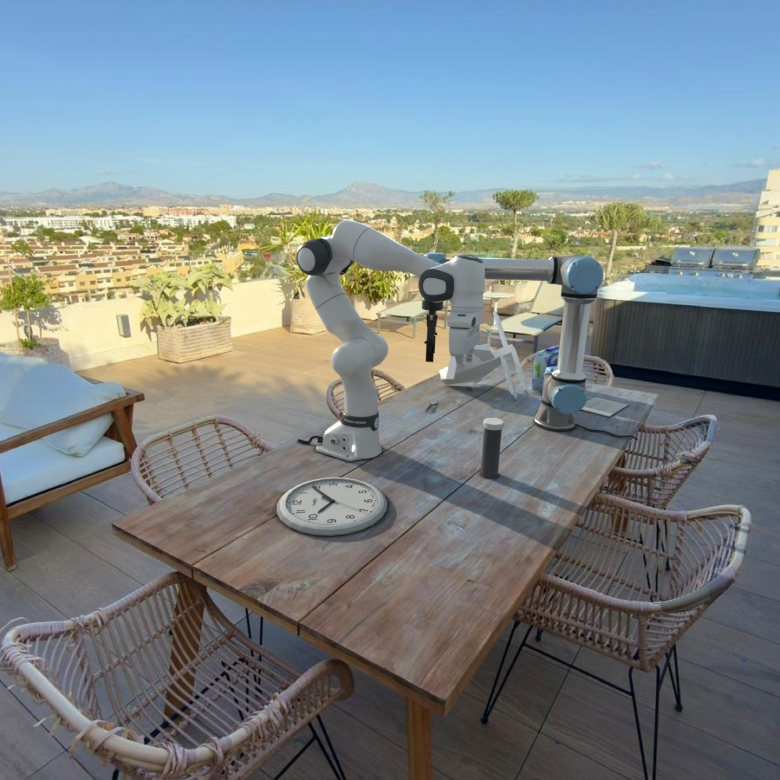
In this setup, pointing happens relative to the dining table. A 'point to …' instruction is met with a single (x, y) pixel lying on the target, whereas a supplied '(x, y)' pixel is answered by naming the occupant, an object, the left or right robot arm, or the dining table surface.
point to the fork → (432, 403)
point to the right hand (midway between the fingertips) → (430, 357)
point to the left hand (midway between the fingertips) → (464, 365)
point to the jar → (491, 453)
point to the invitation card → (603, 406)
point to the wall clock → (331, 506)
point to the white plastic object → (486, 364)
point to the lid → (493, 424)
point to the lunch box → (543, 366)
